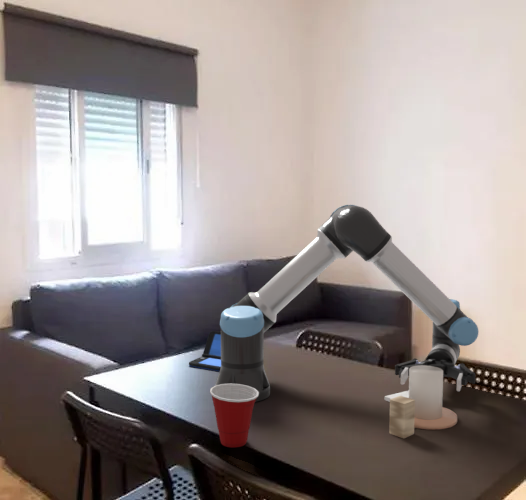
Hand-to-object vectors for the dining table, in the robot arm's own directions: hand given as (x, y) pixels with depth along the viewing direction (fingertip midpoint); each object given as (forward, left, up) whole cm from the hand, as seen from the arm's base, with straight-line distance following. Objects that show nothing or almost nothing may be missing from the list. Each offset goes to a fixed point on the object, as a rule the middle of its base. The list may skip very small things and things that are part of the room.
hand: (429, 382), depth 154 cm
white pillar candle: (+2, -3, -7) cm, 8 cm away
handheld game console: (-63, -34, -8) cm, 72 cm away
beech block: (+8, -14, -8) cm, 18 cm away
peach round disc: (+2, -3, -8) cm, 9 cm away
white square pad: (-9, +1, -8) cm, 12 cm away
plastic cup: (-2, -51, -8) cm, 51 cm away
